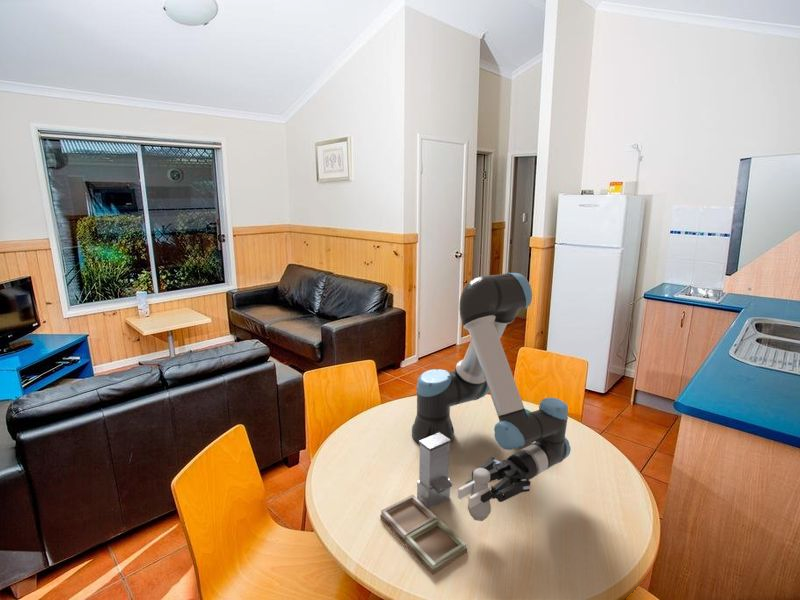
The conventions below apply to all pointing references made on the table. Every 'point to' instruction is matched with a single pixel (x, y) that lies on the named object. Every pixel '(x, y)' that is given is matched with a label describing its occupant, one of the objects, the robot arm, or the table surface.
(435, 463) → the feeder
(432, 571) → the grey brown flat rectangle
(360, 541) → the table surface
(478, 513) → the salt shaker
